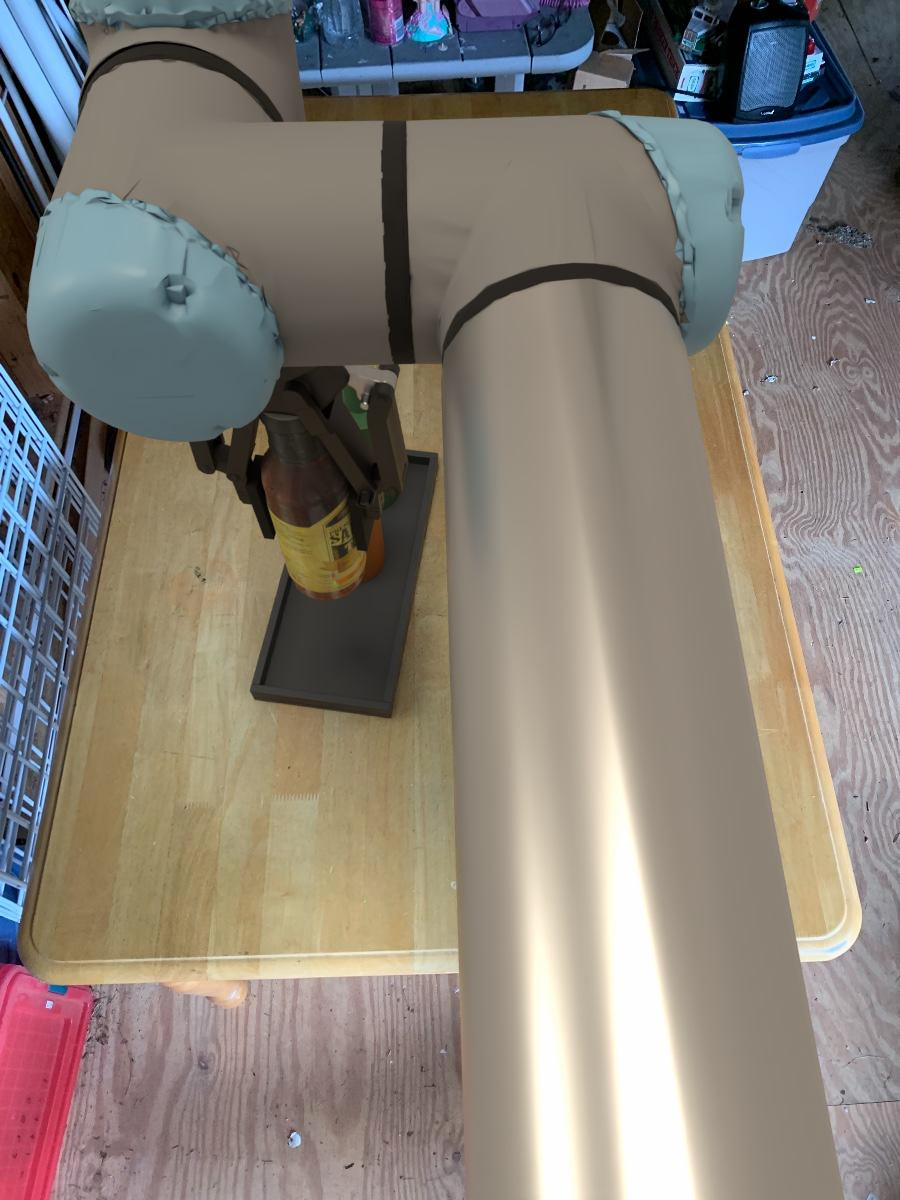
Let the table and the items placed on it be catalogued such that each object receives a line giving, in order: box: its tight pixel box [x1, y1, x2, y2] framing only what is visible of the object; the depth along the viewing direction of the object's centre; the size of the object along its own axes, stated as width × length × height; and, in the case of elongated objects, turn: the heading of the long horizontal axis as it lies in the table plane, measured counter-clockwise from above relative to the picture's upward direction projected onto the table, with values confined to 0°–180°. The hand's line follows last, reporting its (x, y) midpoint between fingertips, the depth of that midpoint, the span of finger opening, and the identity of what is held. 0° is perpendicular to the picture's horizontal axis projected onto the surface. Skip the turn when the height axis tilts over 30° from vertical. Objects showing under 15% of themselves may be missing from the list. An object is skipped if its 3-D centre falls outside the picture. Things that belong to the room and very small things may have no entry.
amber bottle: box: [360, 518, 385, 583], centre depth 80 cm, size 6×6×18 cm
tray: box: [249, 448, 439, 719], centre depth 87 cm, size 31×14×2 cm, turn 172°
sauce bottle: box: [259, 413, 366, 601], centre depth 58 cm, size 7×6×20 cm
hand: (319, 529), depth 61 cm, fingers closed on sauce bottle, 6 cm apart
